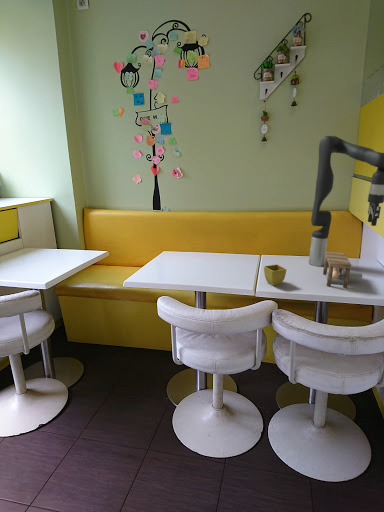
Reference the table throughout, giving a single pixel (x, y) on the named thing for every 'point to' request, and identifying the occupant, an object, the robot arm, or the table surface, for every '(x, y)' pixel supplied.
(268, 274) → the flower pot
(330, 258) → the slatted wooden stool
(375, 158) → the robot arm
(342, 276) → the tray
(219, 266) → the table surface
